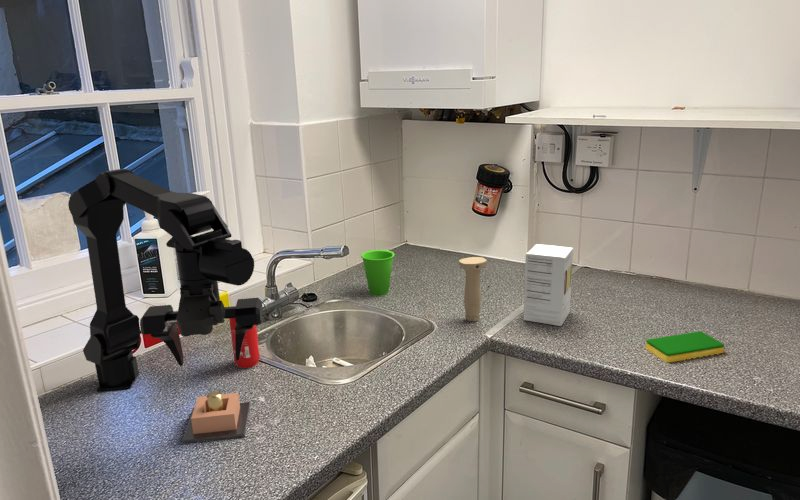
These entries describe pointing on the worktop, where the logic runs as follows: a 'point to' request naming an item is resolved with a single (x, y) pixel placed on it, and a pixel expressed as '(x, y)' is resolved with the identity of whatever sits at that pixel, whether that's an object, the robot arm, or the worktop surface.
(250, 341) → the beverage can
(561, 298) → the supplement box
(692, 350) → the dish sponge
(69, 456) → the worktop surface
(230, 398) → the ring
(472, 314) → the handle
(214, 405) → the black plate with peg
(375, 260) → the cup
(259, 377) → the worktop surface
